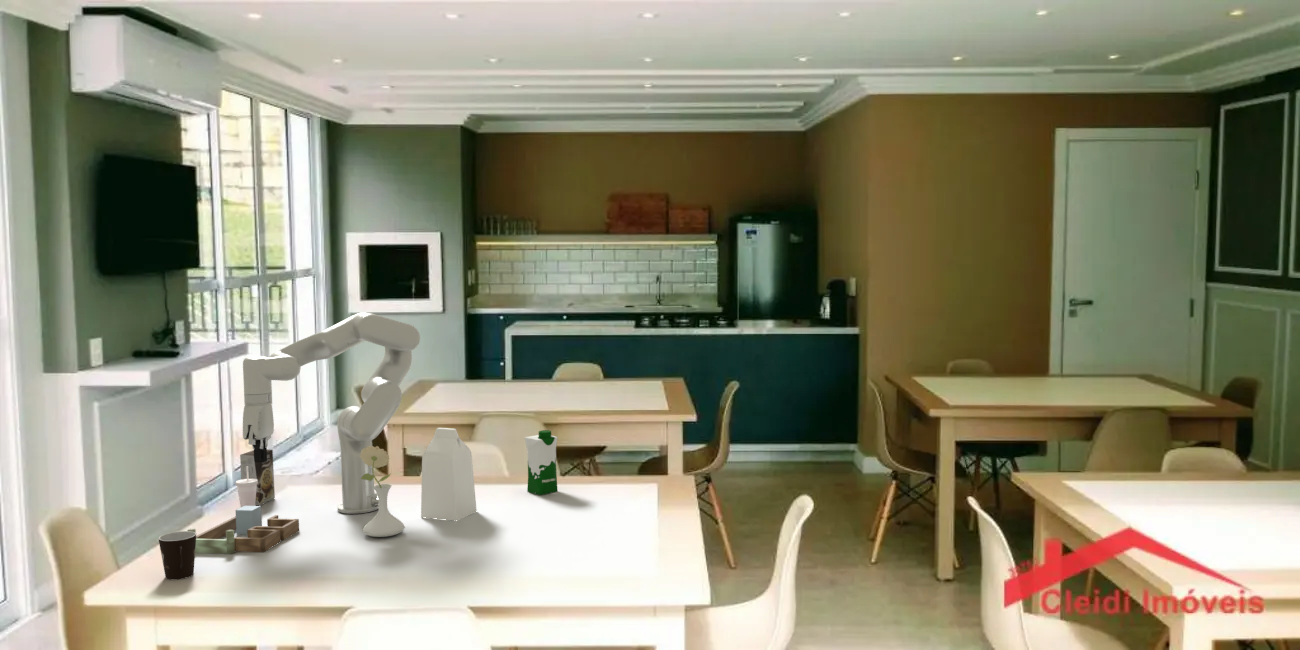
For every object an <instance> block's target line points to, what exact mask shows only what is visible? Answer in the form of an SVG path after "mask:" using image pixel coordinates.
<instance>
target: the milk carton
mask: <svg viewBox="0 0 1300 650" xmlns="http://www.w3.org/2000/svg"><path fill="white" fill-rule="evenodd" d="M558 439H559V438H558V436H555V435H552V430H549V429H548V430H545V429H544V430H543V429H542V430H539V431H538V434H536V435H530V436H524V440H525V446H526V451H527V489H526V491H527V493H531V494H534V495H538V496H544V495H549V494H551V493H552V494H553V493H556V492H557V493H558V479H557V478H558V477H557V476H558V475H557V473H558V472H557V446H558V445H557V444H558Z"/></svg>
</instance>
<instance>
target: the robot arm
mask: <svg viewBox="0 0 1300 650" xmlns="http://www.w3.org/2000/svg"><path fill="white" fill-rule="evenodd" d="M420 341H421V334H420V332H419V331H418V329H417V328H416V327H415V326H414V325H412V324H409V323H405V322H402V321H398V320H395V319H392V318H391V319H390V318H388V317H384V316H382V315H378V314H375V313H372V312H365V311H363V312H358V313H356V314H353V315H351V316H349V317H347V318H345V319H343V320H341V321H339V322H337V323H336V324H333V325H332V326H329V327H327V328H326V329H323V330H322V331H319V332H317V333H314V334H312V335H310V336H307V337H305V338H302V339H300V340H297V341H295V342H293V343H291V344H288V345H286V346H285V347H282V348H280V349H279V350H277V351H275V352H273V353H272V354H270V355H269V357H268V356H263V355H253V356H247V357H245V358H243V361H242V372H243V373H242V375H243V379H242V380H243V398H244V399H243V400H244V407H243V413H242V439H244V440H248V445H250V446H251V447H252V449H253V450H254V462H261V463H264V462H266V461H267V448H268V444H269V440H270V439H271V438H272V435H273V434H274V431H275V429H274V427H275V426H274V425H275V423H274V421H275V420H274V411H273V406H272V404H273V395H272V394H273V393H272V391H273V389H272V381H284V382H285V381H286V382H287V381H292V380H294V379H295V378H297V377H298V376H299V374H300V372H301V369H302V368H301V367H303V366H305V365H307V364H310V363H314V362H316V361H321V360H328V359H331V358H334V357H337V356H339V355H341V354H343V353H344V352H346V351H348V350H350V349H351V348H354V347H356V346H359V345H360V344H362V343H364V342H368V343H372V344H375V345H378V346H381V347H384V355H383V358H382V360H381V362H380V364H379V365H378V367H377V368H376V369H375V371H374V372H373V373H372V375H371V376H370V377H369V378H368V379H367V381H366V383H365V384H364V385H363V387H362V389H361V393H360V396H361V397H360V398H361V400H362V402H363V404H362V405H361V406H357V405H352V406H351V405H350V406H348V407H346V408H345V409H343V410H342V411H341V412H340V414H339V416H338V418H337V423H336V425H337V433H338V435H337V436H338V441H339V447H340V448H339V449H340V450H339V451H340V472H341V473H340V474H341V492H342V494H341V495H342V496H341V497H342V503H340V504H339V505H338V506H337V511H338V512H339V513H342V514H350V515H351V514H353V515H354V514H355V515H356V514H364V513H365V514H366V513H370V512H371V513H372V512H374V511H377V510H379V500H378V495H377V492H376V491H375V489H374V488H373V486H375V478H373V480H372V481H368V480H364V479H361V477H362V476H363V475H364V474H366V473H367V474H370V475H373V474H372V467H373V466H368V465H366V464H365V463H364V461H362V459H361V458H360V455H361V454H360V453H361V450H363V448H367V446H369V447H371V446H373V440H374V439H376V438H377V437H378V436H379V435H380V434H381V433H382V431H383V430H384V429H385V427H386V426H387V424H388V423H389V422H390V420H391V419H392V417H394V414H395V413H396V412H397V410H398V408H399V407H400V405H401V403H402V398H403V393H402V390H401V388H400V385H401V384H402V382H403V381H404V379H405V377H406V376H407V375H408V373H409V370H410V369H411V365H412V362H413V361H412V360H413V359H412V358H413V357H412V356H413V355H412V353H413V352H412V351H413V350H415V349H417V347H418V345H420ZM373 472H375V471H374V470H373Z"/></svg>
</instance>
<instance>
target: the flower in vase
mask: <svg viewBox="0 0 1300 650" xmlns="http://www.w3.org/2000/svg"><path fill="white" fill-rule="evenodd" d="M360 454H361V455H360V458H361V459H362V461H364V463H365V464H366V465H368V466H373V467H372V474H373V475H370V474H367V473H366V474H364V475H363V476H362V477H361V479H364V480H368V481H372V480H373V478H374V481H376V483H377V484H376V485H375V484H374V486H373V488H374V492H377V495H378V500H379V509H378V511H377V513H376V515H375V516H373V517H372V518H371V519H370V520H369V521H368V522H367V523H366V524H365V526H364V527H363V529H362V531H363V534H364V535H366V536H369V537H373V538H384V537H392V536H396V535H398V534H401V533H402V532H403V531H405V530H404V529H405V528H406V526H405V524H404V523H403V522H402V521H401V520H400V519H398V518H397V517H396V516H394V515H393V514H391V513H390V511H389V509H388V494H389V493H390V492H389V491H390V489H391V488H392V485H391V484H389V483H380V482H383V481H385V480H387V479H388V478H389V477H390V475H391V473H389V474H387V475H384V476H382V477H381V478H380V479H379V480H378V479H377V478H376V476H375V474H374V472H375V471H374V472H373V470H374V468H378V469H380V468H381V467H382V468H383V467H384V466H388V462H389V460H390V455H388V452H387V451H386V450H385V449H384V448H380V447H379V446H378V445H376V446H373V445H372V446H371V447H369V446H367V448H363V450H361V453H360Z"/></svg>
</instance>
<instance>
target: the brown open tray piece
mask: <svg viewBox="0 0 1300 650" xmlns="http://www.w3.org/2000/svg"><path fill="white" fill-rule="evenodd" d="M266 520H267V521H266V524H267V526H263V525H262V526H254V527H252V528H250V529H248V530H247V537H241V536H240V537H239V536H238V537H236V536H235V532H236V531H237V530H236V515H235V516H234V517H231V518H229V519H227V520H225V521H223V522H221V523H219V524H217V525H215V526H213V527H211V528H209V529H207V530H205V531H204V532H202V533H199V534H197V533H196V532H197V530H196V528H190V529H187V530H186V531H192V532H195V533H196V547H195V554H196V553H197V554H199V553H200V554H202V553H203V554H205V553H206V554H227V555H233V554H235V553H236V552H244V551H246V553H247V552H249V553H266V550H267V551H268V550H270V549H272V548H273V547H275V546H277V545H278V544H277V543H279V542H280V543H281V541H285V540H287V539H289V538H291V537H292V536H294V535H295V534H297V533H299V532H300V519H298V518H279V514H275V515H272V516H271V517H269V518H267V519H266ZM298 531H299V532H298ZM293 534H294V535H293ZM291 535H292V536H291ZM224 537H225V538H226V539H225V538H224ZM288 537H289V538H288ZM223 538H224V539H223ZM286 538H287V539H286ZM284 539H285V540H284ZM280 543H279V544H280ZM276 544H277V545H276ZM274 545H275V546H274ZM272 546H273V547H272ZM271 547H272V548H271ZM269 548H270V549H269ZM235 551H236V552H235Z"/></svg>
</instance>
